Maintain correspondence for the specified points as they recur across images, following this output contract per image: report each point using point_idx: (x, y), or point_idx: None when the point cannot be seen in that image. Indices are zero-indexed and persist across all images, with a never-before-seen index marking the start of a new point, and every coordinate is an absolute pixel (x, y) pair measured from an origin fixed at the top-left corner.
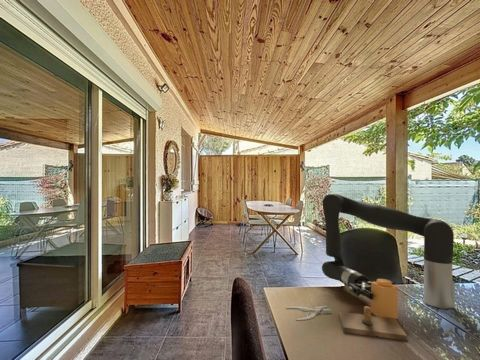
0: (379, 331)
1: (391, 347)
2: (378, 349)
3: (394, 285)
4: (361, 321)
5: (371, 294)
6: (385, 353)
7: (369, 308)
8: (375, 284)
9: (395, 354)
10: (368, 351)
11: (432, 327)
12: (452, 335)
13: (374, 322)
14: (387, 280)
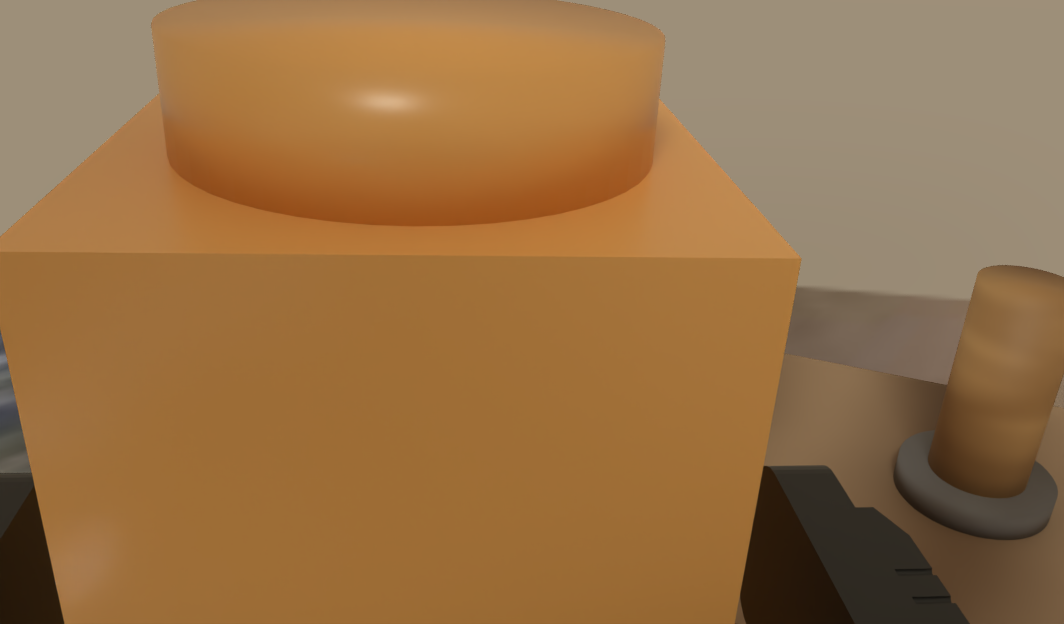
0: (861, 372)
1: (802, 330)
2: (928, 328)
3: (156, 98)
4: (1054, 524)
5: (816, 466)
6: (886, 303)
7: (1001, 271)
8: (717, 183)
9: (810, 292)
10: None
11: (3, 467)
12: (6, 362)
13: (850, 492)
14: (231, 21)
